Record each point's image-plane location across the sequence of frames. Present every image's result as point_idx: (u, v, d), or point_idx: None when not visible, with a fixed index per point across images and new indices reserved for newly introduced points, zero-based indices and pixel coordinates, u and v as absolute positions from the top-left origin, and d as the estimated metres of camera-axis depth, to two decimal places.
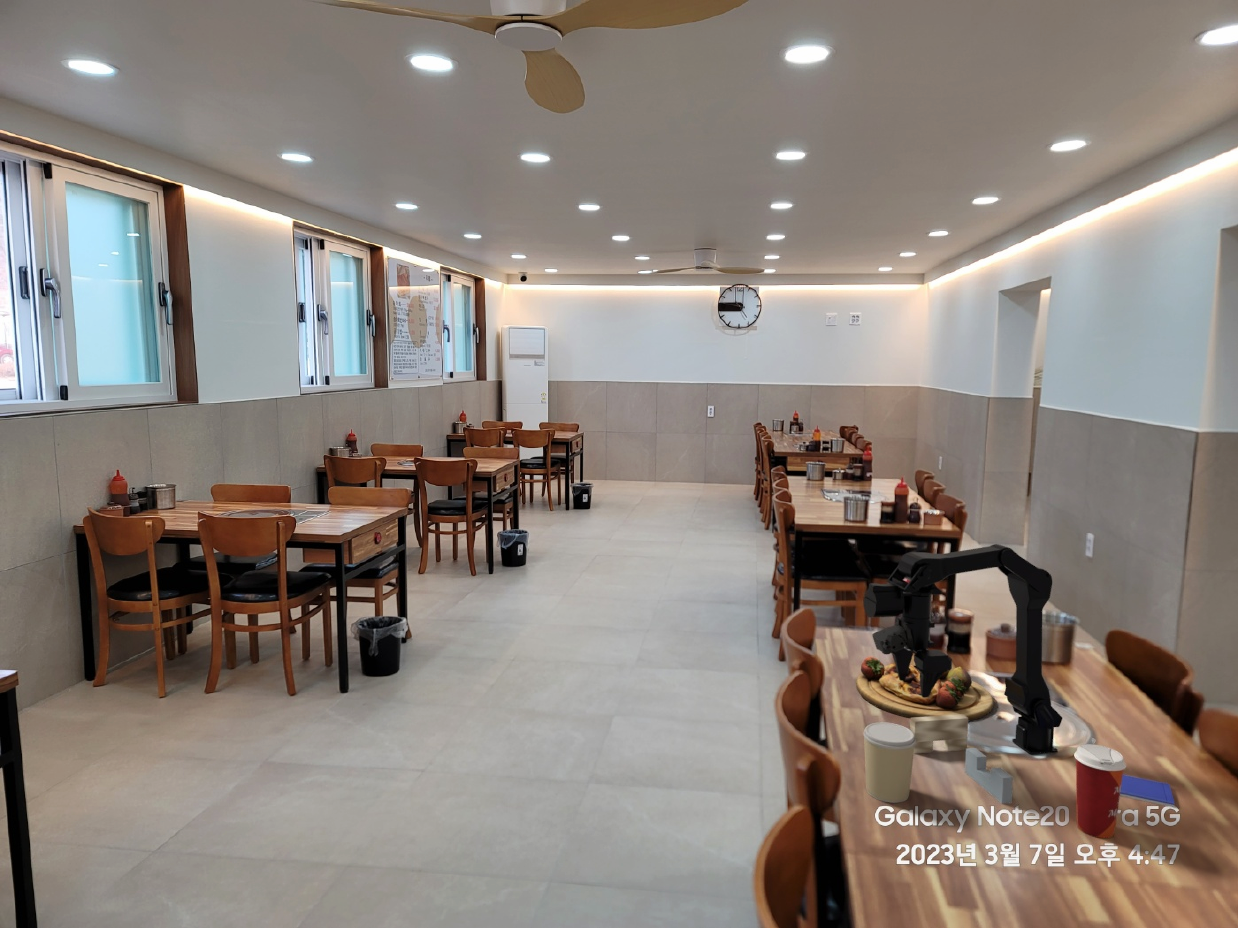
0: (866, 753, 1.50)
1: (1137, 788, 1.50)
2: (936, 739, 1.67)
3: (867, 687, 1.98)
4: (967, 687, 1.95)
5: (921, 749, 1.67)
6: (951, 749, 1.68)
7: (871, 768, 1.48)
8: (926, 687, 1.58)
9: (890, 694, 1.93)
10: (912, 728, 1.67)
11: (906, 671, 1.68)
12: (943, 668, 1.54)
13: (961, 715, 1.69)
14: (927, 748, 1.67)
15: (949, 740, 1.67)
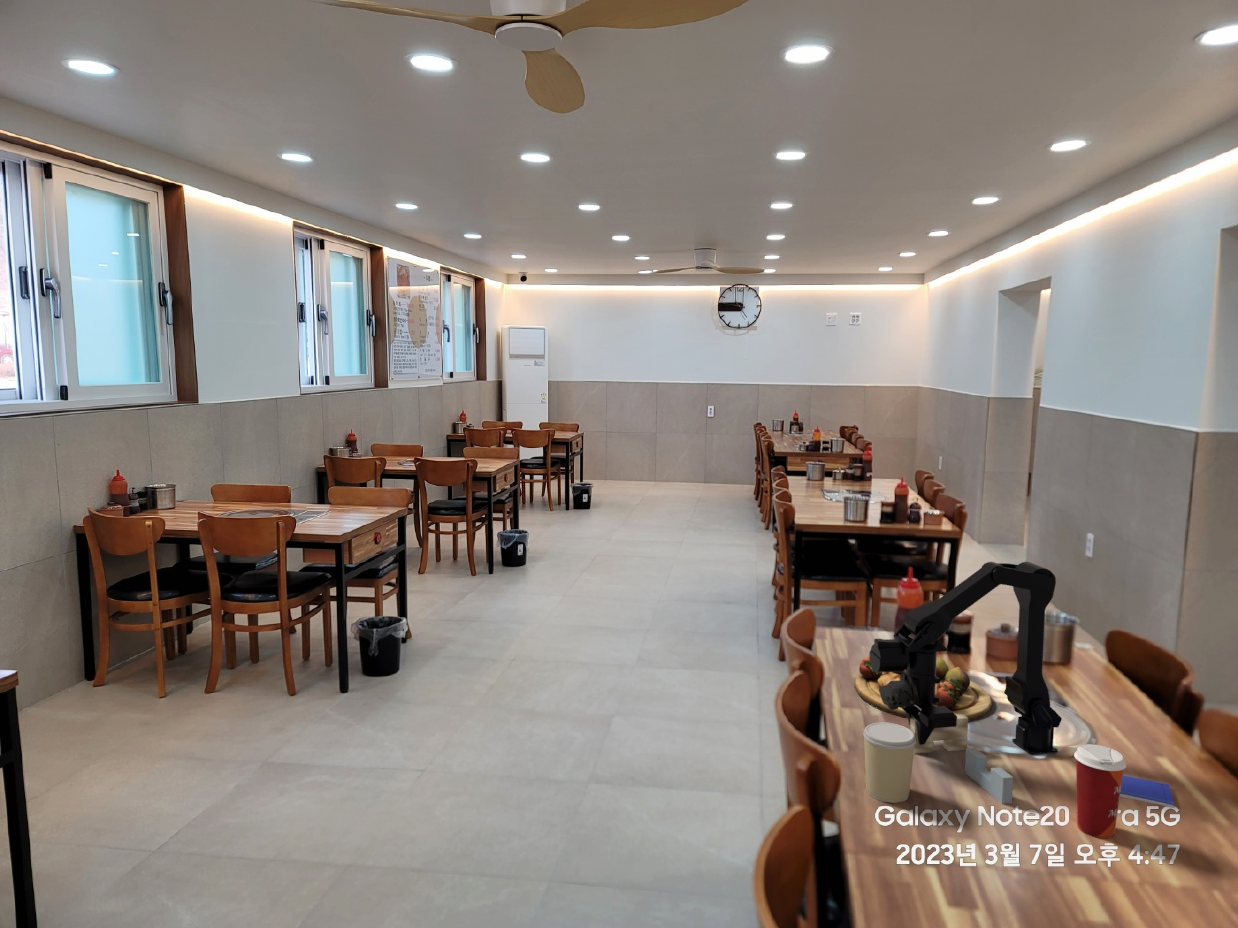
0: (866, 753, 1.50)
1: (1137, 788, 1.50)
2: (936, 739, 1.67)
3: (865, 687, 1.97)
4: (965, 687, 1.95)
5: (921, 749, 1.67)
6: (951, 749, 1.68)
7: (871, 768, 1.48)
8: (923, 735, 1.65)
9: None
10: (912, 728, 1.67)
11: None
12: (948, 725, 1.58)
13: (961, 715, 1.69)
14: (927, 748, 1.67)
15: (949, 740, 1.67)
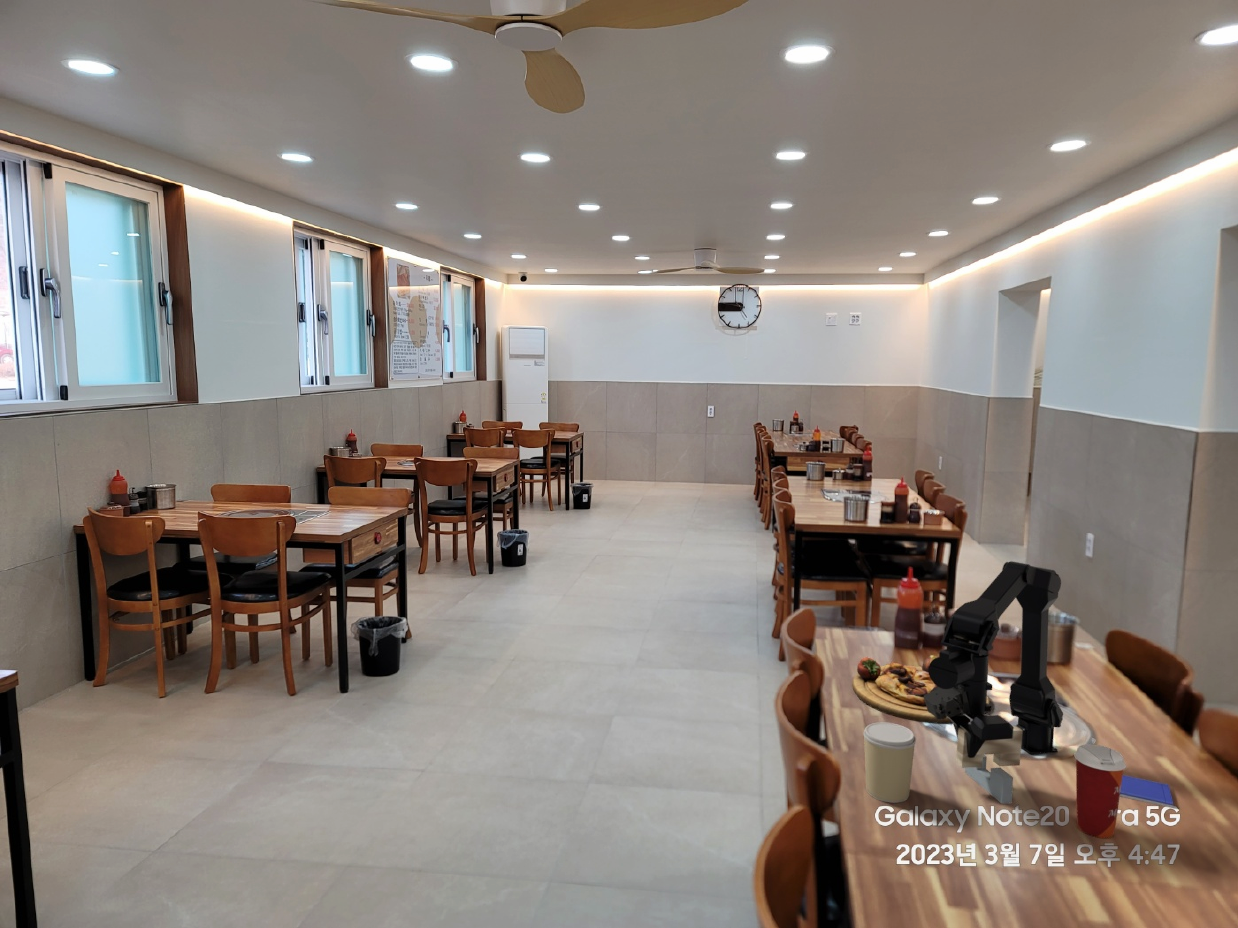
0: (866, 753, 1.50)
1: (1136, 788, 1.50)
2: (986, 752, 1.51)
3: (863, 688, 1.97)
4: None
5: (970, 763, 1.51)
6: (1002, 764, 1.52)
7: (871, 768, 1.48)
8: (973, 747, 1.49)
9: (886, 695, 1.93)
10: (960, 740, 1.51)
11: None
12: (1004, 737, 1.42)
13: (1014, 727, 1.53)
14: (977, 762, 1.51)
15: (1001, 754, 1.51)
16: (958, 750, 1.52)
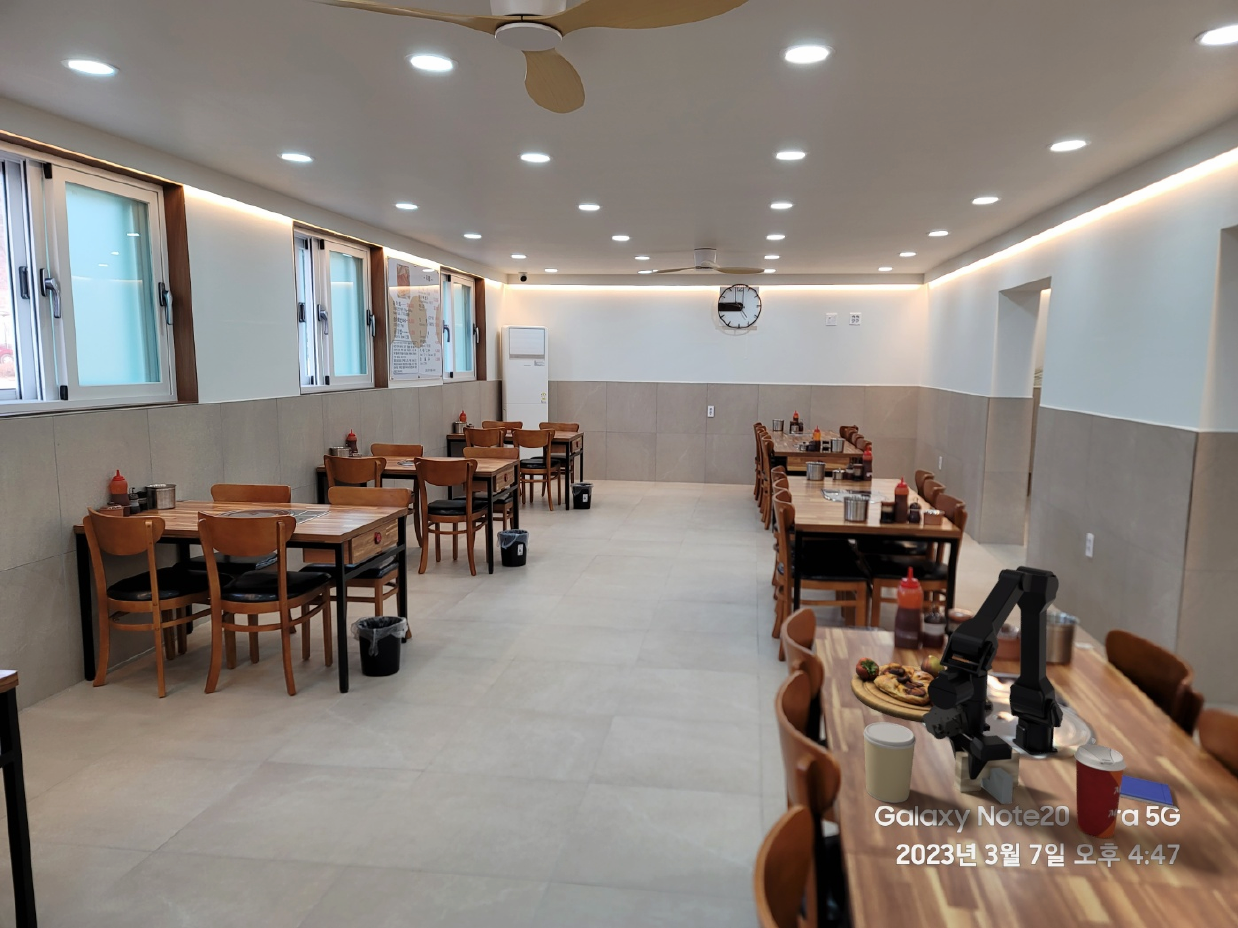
0: (866, 753, 1.50)
1: (1136, 788, 1.50)
2: (984, 776, 1.51)
3: (862, 688, 1.97)
4: None
5: (968, 787, 1.51)
6: None
7: (871, 768, 1.48)
8: (975, 769, 1.49)
9: (885, 695, 1.93)
10: (957, 764, 1.51)
11: None
12: (1003, 758, 1.42)
13: None
14: (975, 785, 1.51)
15: None
16: (956, 774, 1.52)
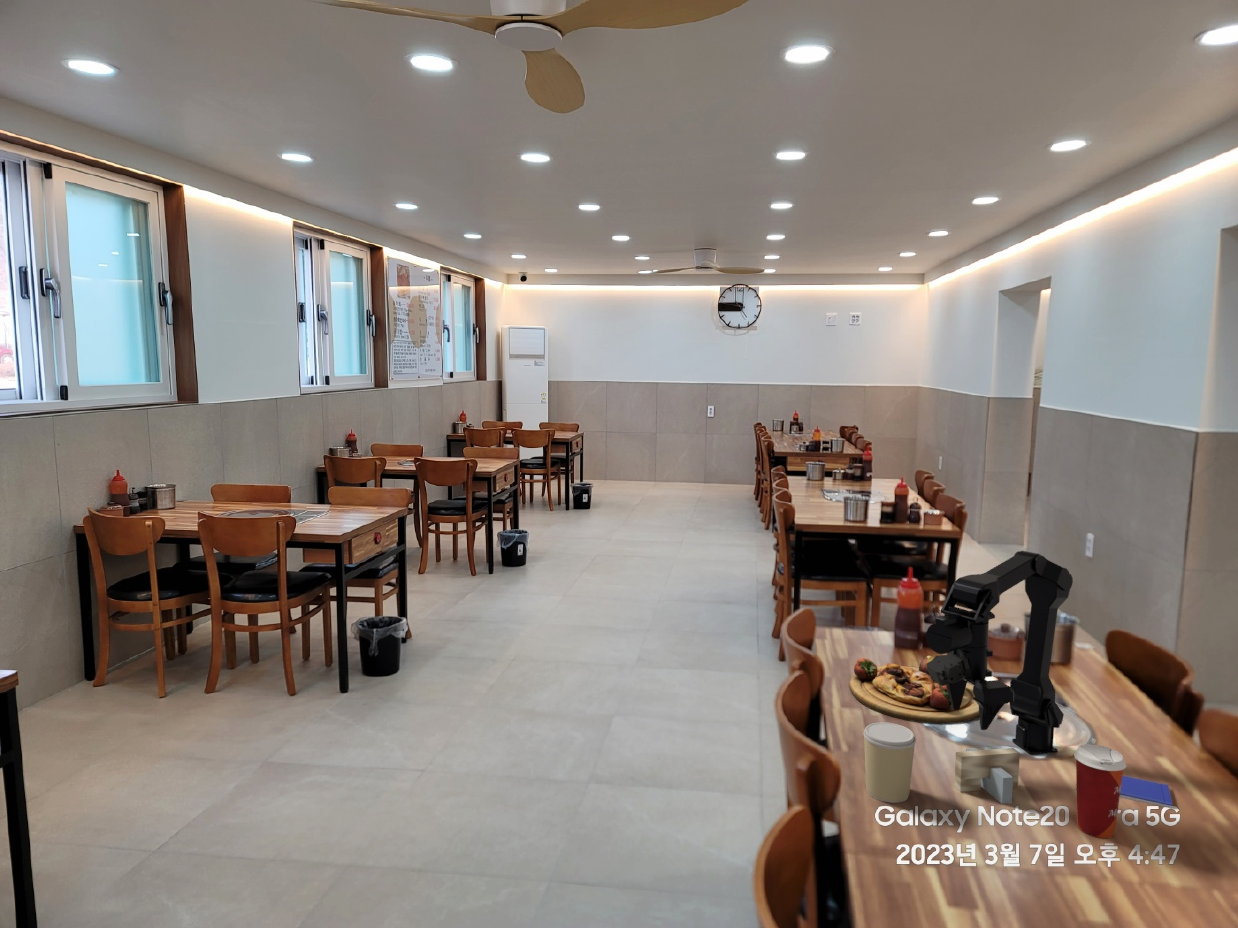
0: (866, 753, 1.50)
1: (1135, 788, 1.50)
2: (984, 776, 1.51)
3: (860, 688, 1.97)
4: None
5: (968, 787, 1.51)
6: None
7: (871, 768, 1.48)
8: (986, 719, 1.51)
9: (883, 696, 1.92)
10: (957, 764, 1.51)
11: (960, 700, 1.61)
12: (1005, 700, 1.46)
13: (1011, 749, 1.53)
14: (975, 785, 1.51)
15: None
16: (956, 774, 1.52)
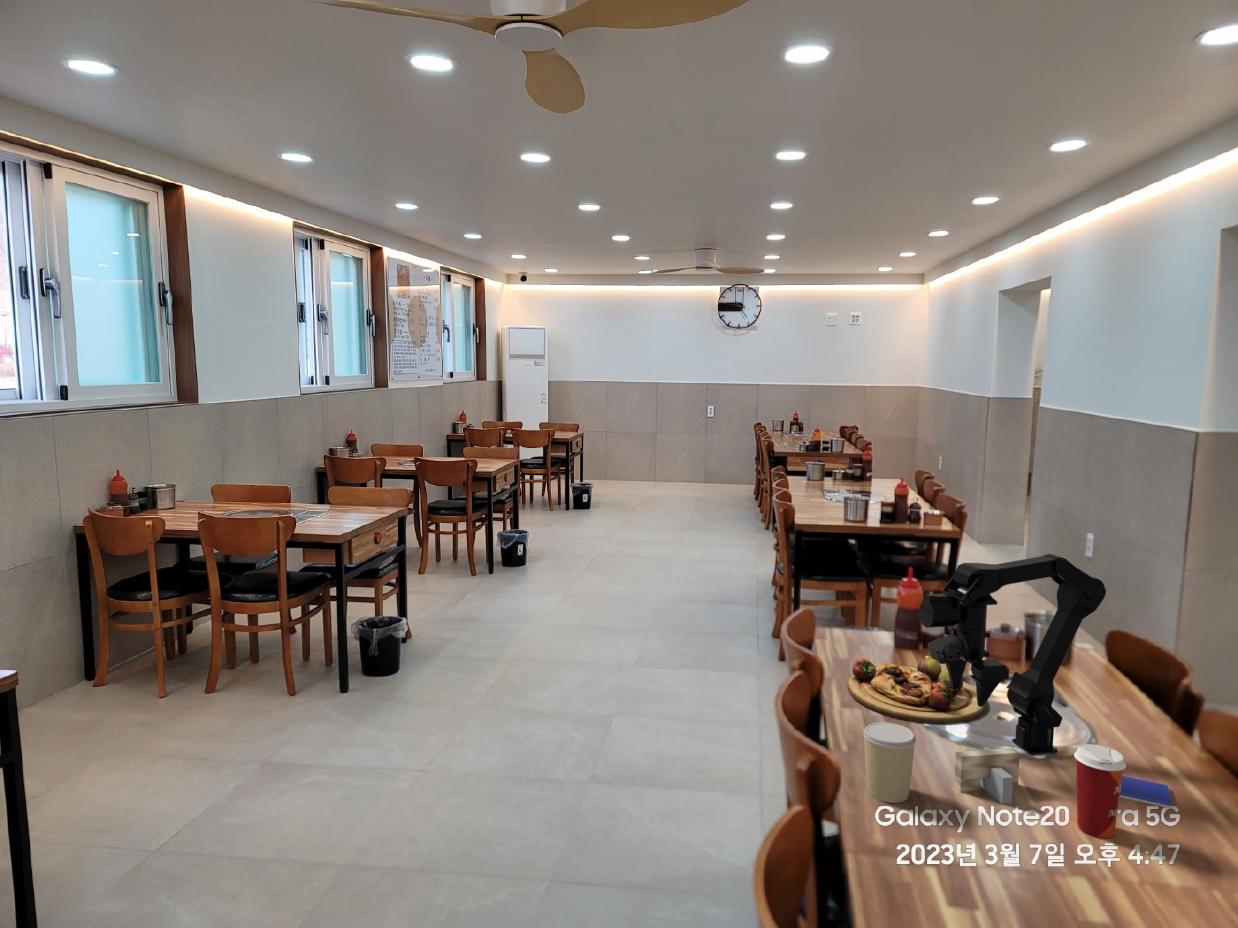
0: (866, 753, 1.50)
1: (1135, 788, 1.50)
2: (984, 776, 1.51)
3: (859, 689, 1.96)
4: (959, 688, 1.94)
5: (968, 787, 1.51)
6: None
7: (871, 768, 1.48)
8: (982, 696, 1.60)
9: (882, 696, 1.92)
10: (957, 764, 1.51)
11: (959, 680, 1.70)
12: (1001, 678, 1.56)
13: (1011, 749, 1.53)
14: (975, 785, 1.51)
15: None
16: (956, 774, 1.52)
